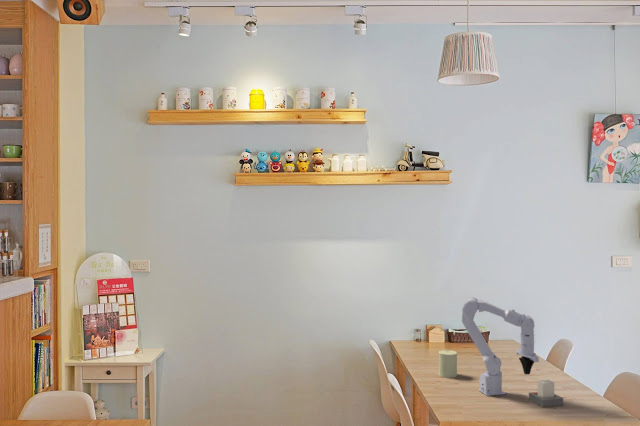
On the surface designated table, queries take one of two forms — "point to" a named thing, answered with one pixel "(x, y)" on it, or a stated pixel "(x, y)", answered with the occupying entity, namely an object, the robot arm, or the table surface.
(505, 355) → the table surface
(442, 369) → the can
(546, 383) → the plug
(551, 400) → the socket
